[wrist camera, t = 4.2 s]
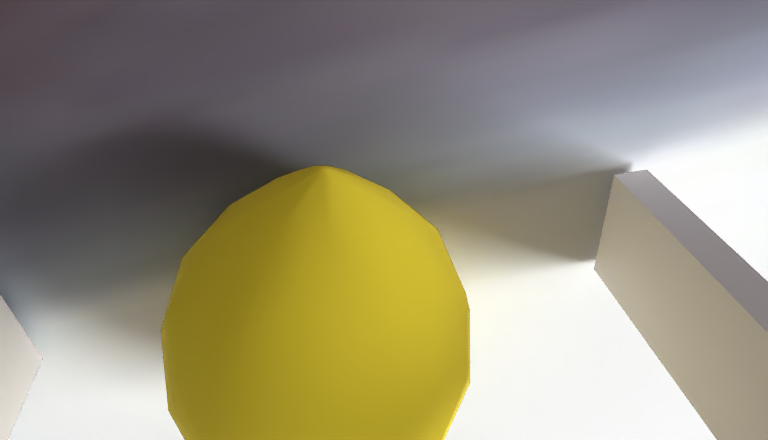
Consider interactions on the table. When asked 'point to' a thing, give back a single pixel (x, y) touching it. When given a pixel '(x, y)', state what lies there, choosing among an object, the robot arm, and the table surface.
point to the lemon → (317, 318)
